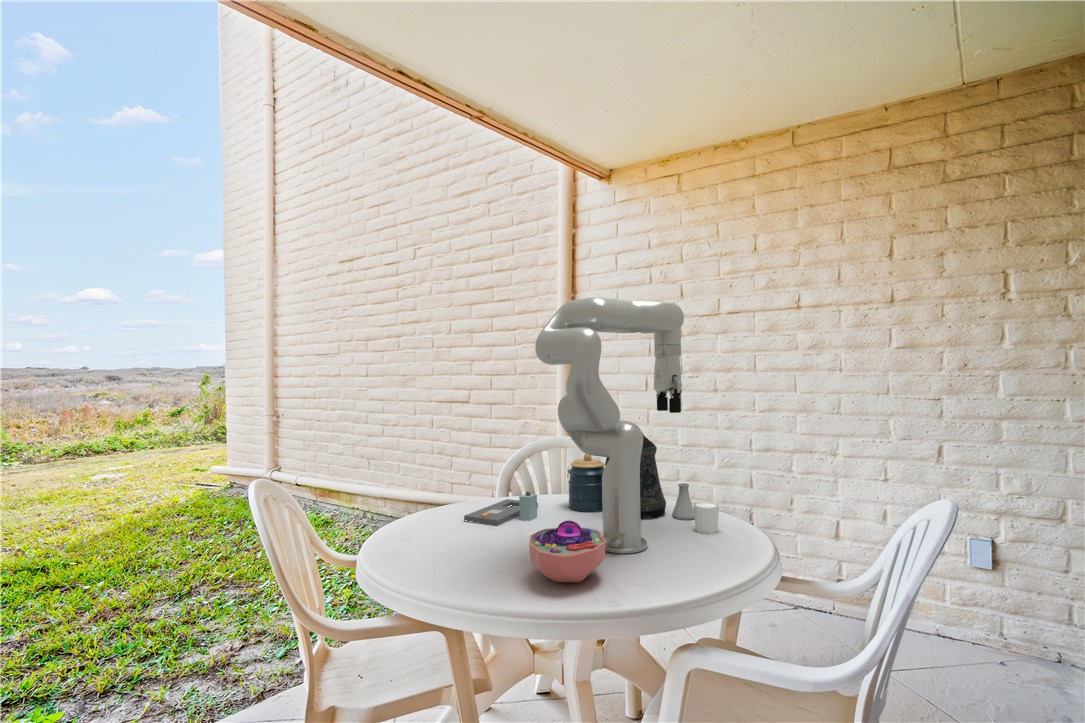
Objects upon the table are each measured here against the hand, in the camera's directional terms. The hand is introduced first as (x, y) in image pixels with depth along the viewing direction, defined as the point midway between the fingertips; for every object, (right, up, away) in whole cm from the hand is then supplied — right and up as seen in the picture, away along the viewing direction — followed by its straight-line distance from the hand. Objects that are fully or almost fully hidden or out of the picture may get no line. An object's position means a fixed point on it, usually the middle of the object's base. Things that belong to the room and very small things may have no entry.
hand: (668, 411), depth 158 cm
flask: (+6, -33, +8) cm, 34 cm away
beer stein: (-7, -33, +13) cm, 36 cm away
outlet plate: (-49, -34, +15) cm, 61 cm away
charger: (-40, -33, +10) cm, 53 cm away
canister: (-21, -34, +22) cm, 45 cm away
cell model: (-31, -33, -39) cm, 59 cm away
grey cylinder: (+9, -32, -6) cm, 34 cm away
